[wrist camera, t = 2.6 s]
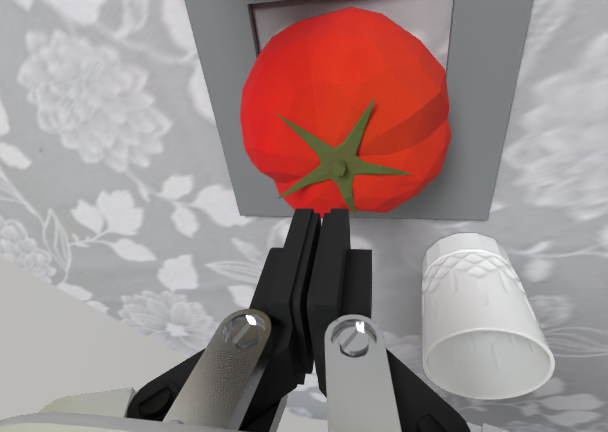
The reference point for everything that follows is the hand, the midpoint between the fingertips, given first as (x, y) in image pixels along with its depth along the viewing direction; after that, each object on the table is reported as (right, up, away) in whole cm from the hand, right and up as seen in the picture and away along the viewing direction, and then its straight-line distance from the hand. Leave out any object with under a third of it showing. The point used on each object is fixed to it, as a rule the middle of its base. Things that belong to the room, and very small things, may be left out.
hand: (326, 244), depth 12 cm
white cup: (+13, -3, +20) cm, 24 cm away
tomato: (+3, +9, +14) cm, 17 cm away
